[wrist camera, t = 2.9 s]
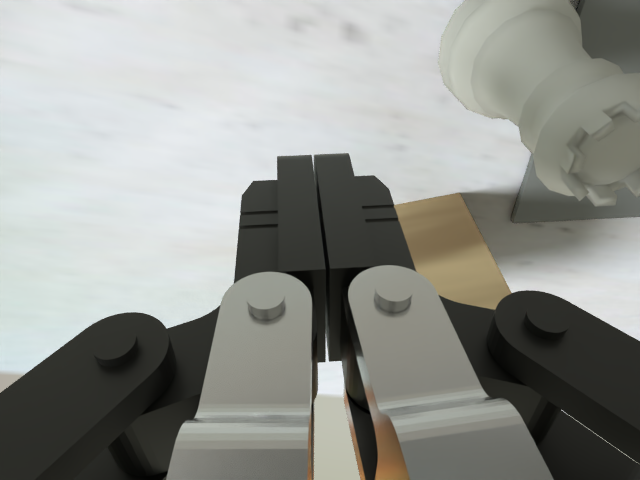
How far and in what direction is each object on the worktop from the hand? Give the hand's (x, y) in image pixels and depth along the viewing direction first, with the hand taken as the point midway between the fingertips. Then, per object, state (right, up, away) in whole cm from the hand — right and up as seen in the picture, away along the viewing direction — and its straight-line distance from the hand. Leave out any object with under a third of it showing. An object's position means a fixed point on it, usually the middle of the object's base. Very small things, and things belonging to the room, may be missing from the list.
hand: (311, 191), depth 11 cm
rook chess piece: (+6, +6, +6) cm, 11 cm away
